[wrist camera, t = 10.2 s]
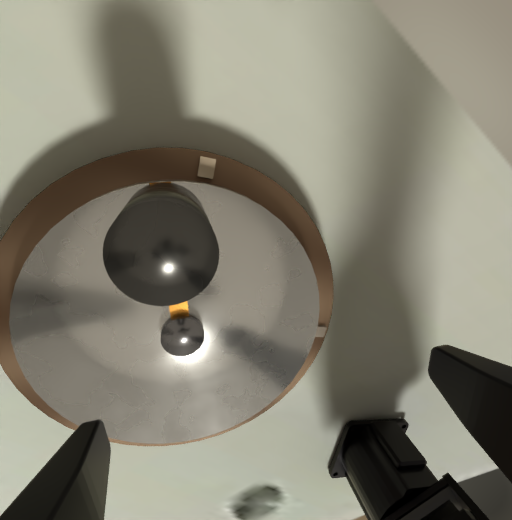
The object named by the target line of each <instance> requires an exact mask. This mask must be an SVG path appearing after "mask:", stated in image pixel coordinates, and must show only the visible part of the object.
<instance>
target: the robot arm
mask: <svg viewBox="0 0 512 520" xmlns="http://www.w3.org/2000/svg"><path fill="white" fill-rule="evenodd" d="M428 373H429V376H430V378H431V380H432V381H433V383H434V384H435V386H436V387H437V388H438V390H439V391H440V393H441V394H442V395H443V397H444V398H445V400H446V401H447V403H448V404H449V405H450V407H451V408H452V410H453V411H454V412H455V414H456V415H457V417H458V418H459V420H460V421H461V422H462V424H463V425H464V426H465V428H466V429H467V430H468V431H469V433H470V434H471V435H472V436H473V438H474V439H475V440H476V441H477V442H478V444H479V445H480V446H481V447H482V448H483V449H484V451H485V452H486V453H487V454H488V455H489V457H490V458H491V459H492V460H493V461H494V463H495V464H496V465H497V466H498V467H499V469H500V470H501V471H502V472H503V473H504V475H505V476H506V477H507V478H508V479H509V480H510V482H511V483H512V367H510V366H508V365H505V364H502V363H499V362H496V361H493V360H490V359H487V358H484V357H482V356H479V355H476V354H473V353H470V352H467V351H464V350H461V349H458V348H456V347H453V346H450V345H441V346H437V347H434V348H433V349H432V350H431V355H430V361H429V367H428ZM408 425H409V424H408V423H407V421H406V420H405V419H392V420H365V421H350V422H349V423H347V425H346V427H345V430H344V432H343V435H342V438H341V440H340V443H339V445H338V448H337V451H336V453H335V456H334V459H333V461H332V464H331V466H330V469H329V474H330V476H331V477H332V478H340V477H346V478H347V480H348V482H349V484H350V486H351V488H352V490H353V492H354V494H355V496H356V498H357V500H358V502H359V503H360V505H361V507H362V509H363V511H364V513H365V515H366V517H367V519H368V520H489V519H488V518H487V516H486V515H485V514H484V513H483V512H482V511H481V510H480V509H479V507H478V506H477V505H476V504H475V503H474V502H473V501H472V499H471V498H470V497H469V496H468V495H467V494H466V493H465V491H464V490H463V489H462V488H461V487H460V486H459V485H458V483H457V482H456V481H455V480H454V479H453V478H452V477H451V476H450V474H449V473H446V474H445V475H443V476H442V477H443V478H442V479H440V480H439V481H438V480H437V479H436V477H435V476H434V475H433V473H432V472H431V471H430V470H429V468H428V467H427V466H426V464H427V461H426V460H425V458H424V457H423V456H422V454H421V453H420V452H419V451H418V449H417V448H416V447H415V445H414V444H413V443H412V442H411V440H410V439H409V438H408V437H407V435H406V434H405V432H406V430H407V428H408ZM110 454H111V450H110V443H109V439H108V436H107V433H106V429H105V426H104V423H103V421H102V420H100V419H97V420H92V421H88V422H84V423H82V424H81V425H80V426H79V427H78V428H77V429H76V430H75V432H74V433H73V434H72V435H71V436H70V437H69V438H68V440H67V441H66V442H65V443H64V444H63V445H62V446H61V448H60V449H59V450H58V451H57V452H56V453H55V454H54V455H53V457H52V458H51V459H50V460H49V461H48V462H47V463H46V465H45V466H44V467H43V468H42V469H41V470H40V471H39V473H38V474H37V475H36V476H35V477H34V478H33V479H32V481H31V482H30V483H29V484H28V485H27V486H26V487H25V489H24V490H23V491H22V492H21V493H20V494H19V495H18V497H17V498H16V499H15V500H14V501H13V502H12V503H11V505H10V506H9V507H8V508H7V509H6V510H5V511H4V513H3V514H2V515H1V516H0V520H104V514H105V504H106V494H107V484H108V474H109V464H110Z"/></svg>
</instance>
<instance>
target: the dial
mask: <svg viewBox="0 0 512 520" xmlns="http://www.w3.org/2000/svg"><path fill="white" fill-rule="evenodd" d="M319 310H320V308H319V291H318V285H317V279H316V276H315V273H314V270H313V267H312V264H311V262H310V260H309V258H308V256H307V254H306V252H305V250H304V248H303V247H302V245H301V244H300V242H299V241H298V239H297V238H296V237H295V235H294V234H293V233H292V232H291V231H290V230H289V229H288V228H287V226H286V225H285V224H284V223H283V222H282V221H281V220H279V219H278V218H277V217H276V216H274V215H273V214H272V213H271V212H269V211H268V210H267V209H265V208H264V207H263V206H262V205H260V204H258V203H256V202H255V201H253V200H251V199H250V198H248V197H246V196H244V195H242V194H240V193H237V192H235V191H232V190H230V189H228V188H225V187H221V186H217V185H213V184H210V183H206V182H199V181H191V180H155V181H147V182H140V183H136V184H132V185H128V186H125V187H121V188H117V189H114V190H112V191H110V192H107V193H105V194H103V195H100V196H98V197H96V198H94V199H92V200H90V201H89V202H87V203H85V204H84V205H82V206H80V207H79V208H77V209H75V210H74V211H73V212H71V213H70V214H69V215H67V216H66V217H65V218H64V219H62V220H61V221H60V222H59V223H57V224H56V225H55V226H54V227H53V228H51V229H50V230H49V232H48V233H47V234H46V235H45V236H44V237H43V238H42V239H41V240H40V241H39V243H38V244H37V245H36V246H35V248H34V249H33V251H32V252H31V254H30V255H29V257H28V258H27V260H26V261H25V263H24V265H23V267H22V269H21V271H20V274H19V276H18V278H17V281H16V283H15V286H14V291H13V295H12V299H11V303H10V317H9V327H10V335H11V343H12V346H13V350H14V353H15V356H16V360H17V362H18V364H19V366H20V368H21V370H22V372H23V374H24V376H25V378H26V379H27V381H28V382H29V384H30V385H31V386H32V388H33V389H34V391H35V392H36V393H37V394H38V395H39V396H40V397H41V398H42V399H43V400H44V401H45V402H46V403H47V405H49V406H50V407H51V408H52V409H54V410H55V411H56V412H57V413H59V414H60V415H61V416H63V417H64V418H66V419H68V420H69V421H71V422H73V423H74V424H76V425H78V426H80V425H81V424H82V423H84V422H88V421H92V420H97V419H100V420H102V421H103V423H104V426H105V429H106V433H107V436H108V437H109V438H112V439H117V440H122V441H127V442H135V443H146V444H165V443H176V442H184V441H189V440H195V439H199V438H203V437H206V436H210V435H213V434H216V433H219V432H221V431H224V430H226V429H229V428H231V427H233V426H235V425H237V424H239V423H241V422H243V421H245V420H247V419H248V418H250V417H252V416H253V415H255V414H256V413H258V412H259V411H261V410H262V409H263V408H265V407H266V406H267V405H269V404H270V403H271V402H272V401H273V400H274V399H275V398H277V397H278V396H279V395H280V394H281V393H282V392H283V391H284V390H285V388H286V387H287V386H288V385H289V384H290V383H291V382H292V380H293V379H294V378H295V376H296V375H297V373H298V372H299V370H300V369H301V367H302V366H303V364H304V362H305V360H306V358H307V356H308V354H309V352H310V349H311V347H312V344H313V342H314V339H315V335H316V331H317V326H318V319H319Z"/></svg>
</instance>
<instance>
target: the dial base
mask: <svg viewBox="0 0 512 520" xmlns="http://www.w3.org/2000/svg"><path fill="white" fill-rule="evenodd" d="M155 180H191V181H199V182H206V183H210V184H213V185H217V186H221V187H225V188H228V189H230V190H232V191H235V192H237V193H240V194H242V195H244V196H246V197H248V198H250V199H251V200H253V201H255V202H256V203H258V204H260V205H262V206H263V207H264V208H265V209H267V210H268V211H269V212H271V213H272V214H273V215H274V216H276V217H277V218H278V219H279V220H281V221H282V222H283V223H284V224H285V225H286V226H287V228H288V229H289V230H290V231H291V232H292V233H293V234H294V235H295V237H296V238H297V239H298V241H299V242H300V244H301V245H302V247H303V248H304V250H305V252H306V254H307V256H308V258H309V260H310V262H311V264H312V267H313V270H314V273H315V276H316V279H317V285H318V291H319V308H320V310H319V319H318V326H317V331H316V335H315V339H314V342H313V344H312V347H311V349H310V352H309V354H308V356H307V358H306V360H305V362H304V364H303V366H302V367H301V369H300V370H299V372H298V373H297V375H296V376H295V378H294V379H293V380H292V382H291V383H290V384H289V385H288V386H287V387H286V388H285V390H284V391H283V392H282V393H281V394H280V395H279V396H278V397H277V398H275V399H274V400H273V401H272V402H271V403H270V404H269V405H267V406H266V407H265V408H263V409H262V410H261V411H259V412H258V413H256V414H255V415H253V416H252V417H250V418H248V419H247V420H245V421H243V422H241V423H239V424H237V425H235V426H233V427H231V428H229V429H226V430H224V431H221V432H219V433H216V434H213V435H210V436H206V437H203V438H199V439H195V440H189V441H184V442H176V443H165V444H146V443H135V442H127V441H122V440H117V439H112V438H109V437H108V439H109V442H114V443H120V444H126V445H137V446H167V445H178V444H185V443H190V442H195V441H200V440H204V439H207V438H210V437H214V436H217V435H220V434H223V433H225V432H228V431H230V430H233V429H235V428H237V427H239V426H241V425H243V424H245V423H247V422H249V421H251V420H253V419H254V418H256V417H257V416H259V415H261V414H262V413H264V412H265V411H267V410H268V409H269V408H271V407H272V406H273V405H275V404H276V403H277V402H278V401H280V400H281V399H282V398H283V397H284V396H285V395H286V394H287V393H288V392H289V391H290V390H291V389H292V388H293V387H294V386H295V385H296V384H297V383H298V381H299V380H300V379H301V378H302V377H303V376H304V374H305V373H306V371H307V370H308V368H309V367H310V365H311V364H312V363H313V361H314V359H315V357H316V355H317V353H318V352H319V350H320V348H321V346H322V343H323V341H324V338H325V335H326V333H327V330H328V326H329V322H330V318H331V314H332V305H333V276H332V270H331V263H330V260H329V256H328V253H327V250H326V247H325V244H324V242H323V240H322V238H321V235H320V233H319V231H318V229H317V227H316V226H315V224H314V223H313V221H312V220H311V218H310V217H309V215H308V214H307V212H306V211H305V210H304V209H303V207H302V206H301V205H300V204H299V203H298V202H297V201H296V200H295V199H294V197H293V196H292V195H290V194H289V193H288V192H287V191H286V190H285V189H283V188H282V187H281V186H280V185H279V184H277V183H276V182H275V181H273V180H272V179H270V178H268V177H267V176H265V175H264V174H262V173H260V172H259V171H257V170H256V169H253V168H251V167H249V166H247V165H244V164H242V163H240V162H238V161H235V160H233V159H230V158H227V157H224V156H220V155H217V154H213V153H210V152H206V151H200V150H193V149H186V148H149V149H141V150H133V151H128V152H125V153H121V154H117V155H113V156H109V157H106V158H102V159H99V160H97V161H95V162H92V163H90V164H87V165H85V166H83V167H80V168H78V169H75V170H74V171H72V172H70V173H69V174H67V175H65V176H64V177H62V178H60V179H59V180H57V181H55V182H54V183H52V184H51V185H49V186H48V187H47V188H46V189H45V190H43V191H42V192H41V193H40V194H39V195H37V196H36V197H35V198H34V199H33V200H31V201H30V202H29V203H28V205H27V206H26V207H25V208H24V209H23V210H22V211H21V213H20V214H19V215H18V216H17V217H16V218H15V219H14V221H13V222H12V224H11V225H10V227H9V228H8V230H7V232H6V233H5V235H4V236H3V238H2V240H1V241H0V364H1V366H2V368H3V370H4V372H5V373H6V374H7V376H8V377H9V378H10V380H11V381H12V383H13V384H14V385H15V387H16V388H17V389H18V390H19V391H20V392H21V393H22V394H23V395H24V396H25V397H26V398H27V399H28V400H29V401H30V402H31V403H32V404H33V405H34V406H36V407H37V408H38V409H40V410H41V411H42V412H43V413H45V414H46V415H47V416H49V417H51V418H52V419H54V420H56V421H57V422H59V423H61V424H63V425H64V426H66V427H68V428H71V429H73V430H76V429H77V428H78V427H79V426H78V425H76V424H74V423H73V422H71V421H69V420H68V419H66V418H64V417H63V416H61V415H60V414H59V413H57V412H56V411H55V410H54V409H52V408H51V407H50V406H49V405H47V403H46V402H45V401H44V400H43V399H42V398H41V397H40V396H39V395H38V394H37V393H36V392H35V391H34V389H33V388H32V386H31V385H30V384H29V382H28V381H27V379H26V378H25V376H24V374H23V372H22V370H21V368H20V366H19V364H18V362H17V360H16V356H15V353H14V350H13V346H12V343H11V335H10V327H9V317H10V303H11V299H12V295H13V291H14V286H15V283H16V281H17V278H18V276H19V274H20V271H21V269H22V267H23V265H24V263H25V261H26V260H27V258H28V257H29V255H30V254H31V252H32V251H33V249H34V248H35V246H36V245H37V244H38V243H39V241H40V240H41V239H42V238H43V237H44V236H45V235H46V234H47V233H48V232H49V230H50V229H51V228H53V227H54V226H55V225H56V224H57V223H59V222H60V221H61V220H62V219H64V218H65V217H66V216H67V215H69V214H70V213H71V212H73V211H74V210H75V209H77V208H79V207H80V206H82V205H84V204H85V203H87V202H89V201H90V200H92V199H94V198H96V197H98V196H100V195H103V194H105V193H107V192H110V191H112V190H114V189H117V188H121V187H125V186H128V185H132V184H136V183H140V182H147V181H155Z"/></svg>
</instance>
